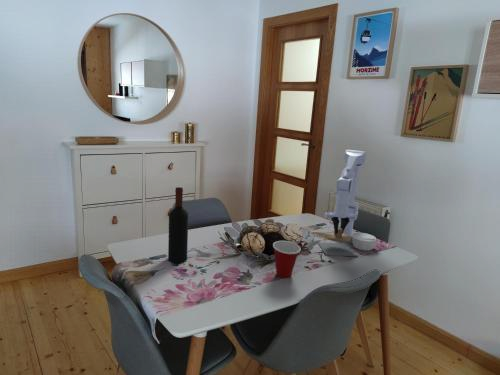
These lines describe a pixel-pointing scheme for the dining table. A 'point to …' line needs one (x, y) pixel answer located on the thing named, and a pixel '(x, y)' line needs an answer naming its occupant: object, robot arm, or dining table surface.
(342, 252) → the mat
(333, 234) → the lid
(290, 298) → the dining table surface
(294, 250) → the plastic cup
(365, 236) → the ramekin
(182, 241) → the wine bottle
